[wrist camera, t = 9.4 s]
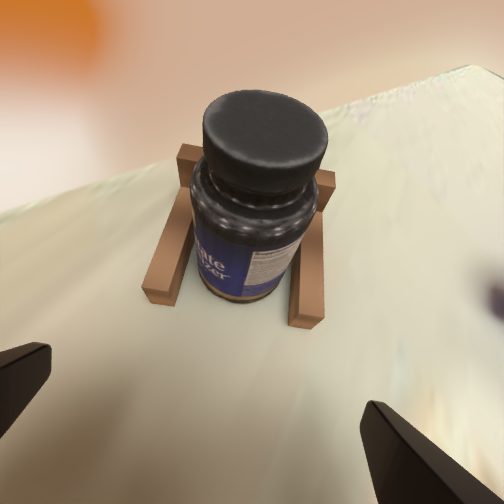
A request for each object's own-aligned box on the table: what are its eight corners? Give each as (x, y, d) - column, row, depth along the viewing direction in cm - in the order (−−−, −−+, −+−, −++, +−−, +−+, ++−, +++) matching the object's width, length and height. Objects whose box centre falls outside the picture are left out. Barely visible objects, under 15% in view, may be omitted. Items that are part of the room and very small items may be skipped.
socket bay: (310, 329, 17) (342, 302, 13) (150, 302, 16) (128, 265, 12) (311, 218, 22) (334, 172, 18) (189, 195, 22) (182, 143, 17)
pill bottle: (185, 247, 19) (155, 90, 10) (256, 221, 21) (289, 70, 12) (221, 321, 16) (229, 205, 7) (298, 283, 19) (383, 154, 9)
